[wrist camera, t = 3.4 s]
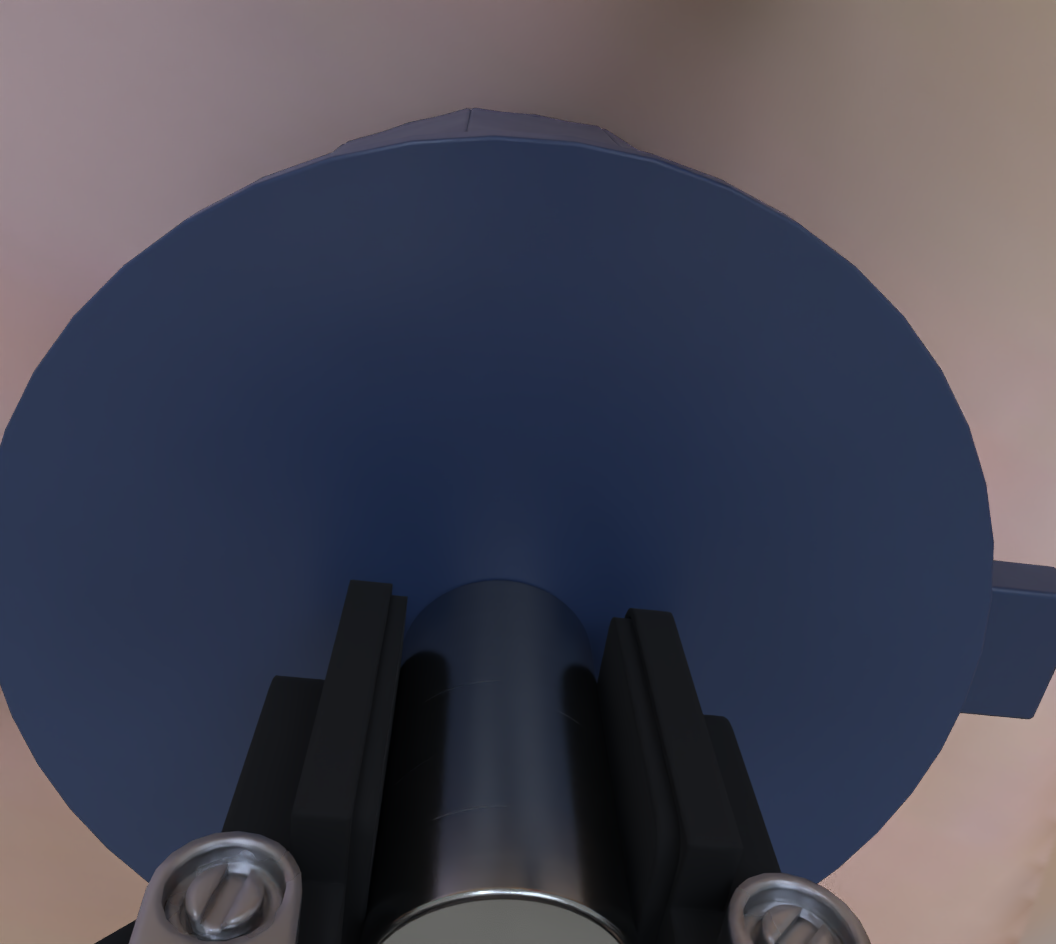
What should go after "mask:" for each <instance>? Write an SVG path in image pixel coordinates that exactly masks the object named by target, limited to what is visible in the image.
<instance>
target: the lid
mask: <svg viewBox="0 0 1056 944" xmlns="http://www.w3.org/2000/svg"><path fill="white" fill-rule="evenodd" d="M993 550H994V540H993V533H992V525H991V517H990V510H989V502H988V494H987V487H986V482H985V478H984V475H983V472H982V468H981V465H980V462H979V458H978V455H977V452H976V448H975V445H974V441H973V438H972V435H971V431H970V428H969V425H968V423H967V421H966V419H965V417H964V415H963V413H962V411H961V409H960V407H959V405H958V403H957V401H956V399H955V397H954V394H953V392H952V390H951V388H950V386H949V384H948V382H947V380H946V378H945V376H944V374H943V372H942V370H941V368H940V367H939V366H938V364H937V363H936V361H935V360H934V358H933V357H932V356H931V354H930V353H929V351H928V350H927V349H926V347H925V346H924V344H923V343H922V341H921V340H920V339H919V337H918V336H917V334H916V333H915V331H914V330H913V329H912V327H911V326H910V324H909V323H908V322H907V320H906V319H905V317H904V316H903V315H902V314H901V313H900V312H899V311H898V310H897V309H896V308H895V307H894V306H893V305H892V304H891V303H890V301H889V300H888V299H887V298H886V297H885V296H884V295H883V294H882V293H881V292H880V291H879V290H878V289H877V288H876V287H875V286H874V285H873V284H872V283H871V282H870V281H869V280H868V279H867V278H866V277H865V276H864V275H863V274H862V273H861V272H860V271H859V270H858V268H857V267H856V266H854V265H853V264H852V263H850V262H849V261H848V260H846V259H845V258H844V257H842V256H841V255H840V254H838V253H837V252H836V251H834V250H833V249H832V248H830V247H829V246H828V245H827V244H825V243H824V242H823V241H821V240H820V239H819V238H817V237H816V236H815V235H813V234H812V233H811V232H809V231H808V230H807V229H805V228H804V227H803V226H801V225H800V224H799V223H797V222H796V221H794V220H793V219H791V218H790V217H788V216H787V215H785V214H784V213H782V212H780V211H778V210H776V209H774V208H773V207H771V206H769V205H767V204H765V203H763V202H762V201H760V200H758V199H756V198H754V197H752V196H751V195H749V194H747V193H745V192H743V191H742V190H740V189H738V188H736V187H734V186H732V185H731V184H729V183H727V182H725V181H723V180H721V179H719V178H716V177H713V176H711V175H708V174H705V173H703V172H700V171H697V170H695V169H692V168H689V167H687V166H684V165H681V164H678V163H676V162H673V161H670V160H668V159H665V158H662V157H660V156H657V155H654V154H652V153H648V152H644V151H639V150H635V149H630V148H625V147H621V146H616V145H612V144H607V143H603V142H598V141H593V140H589V139H584V138H580V137H575V136H565V135H552V134H539V133H526V132H513V131H500V130H487V131H471V132H455V133H439V134H423V135H412V136H407V137H402V138H397V139H392V140H388V141H383V142H378V143H373V144H368V145H363V146H358V147H353V148H348V149H343V150H339V151H335V152H332V153H329V154H327V155H324V156H321V157H318V158H315V159H313V160H310V161H307V162H304V163H301V164H299V165H296V166H293V167H290V168H287V169H284V170H282V171H279V172H276V173H273V174H270V175H268V176H265V177H263V178H261V179H259V180H257V181H255V182H253V183H251V184H249V185H247V186H246V187H244V188H242V189H240V190H238V191H236V192H234V193H232V194H230V195H229V196H227V197H225V198H223V199H221V200H219V201H217V202H215V203H213V204H212V205H210V206H208V207H206V208H204V209H202V210H200V211H198V212H197V213H195V214H194V215H192V216H190V217H189V218H187V219H186V220H184V221H183V222H182V223H180V224H179V225H178V226H176V227H175V228H174V229H172V230H171V231H170V232H168V233H167V234H165V235H164V236H163V237H161V238H160V239H159V240H157V241H156V242H155V243H153V244H152V245H151V246H149V247H148V248H146V249H145V250H144V251H142V252H141V253H140V254H138V255H137V256H136V257H134V258H133V259H132V260H130V261H129V262H128V263H126V264H125V265H124V266H123V267H122V268H121V269H120V270H119V271H118V272H117V273H116V274H115V275H114V276H113V277H112V278H111V279H110V280H109V281H108V282H107V283H106V284H105V285H104V286H103V287H102V288H101V289H100V290H99V291H98V292H97V293H96V294H95V295H94V296H93V297H92V298H91V299H90V300H89V301H88V302H87V303H86V304H85V305H84V306H83V307H82V308H81V309H80V310H79V311H78V312H77V313H76V314H75V315H74V316H73V318H72V319H71V320H70V322H69V323H68V325H67V326H66V327H65V329H64V330H63V331H62V333H61V334H60V336H59V337H58V338H57V340H56V341H55V343H54V344H53V345H52V347H51V348H50V350H49V351H48V352H47V354H46V355H45V357H44V358H43V359H42V361H41V362H40V364H39V365H38V366H37V368H36V369H35V371H34V372H33V374H32V376H31V378H30V380H29V382H28V384H27V386H26V388H25V390H24V392H23V394H22V397H21V399H20V401H19V403H18V405H17V407H16V409H15V411H14V413H13V415H12V417H11V419H10V421H9V423H8V425H7V427H6V429H5V432H4V435H3V438H2V442H1V445H0V685H1V688H2V691H3V693H4V696H5V699H6V702H7V704H8V707H9V710H10V713H11V715H12V718H13V719H14V721H15V723H16V725H17V727H18V729H19V731H20V732H21V734H22V736H23V738H24V740H25V742H26V744H27V745H28V747H29V749H30V751H31V753H32V755H33V757H34V758H35V760H36V762H37V764H38V765H39V767H40V768H41V770H42V771H43V772H44V774H45V775H46V776H47V778H48V779H49V781H50V782H51V783H52V785H53V786H54V787H55V789H56V790H57V792H58V793H59V794H60V796H61V797H62V798H63V800H64V801H65V803H66V804H67V805H68V807H69V808H70V809H71V810H72V811H73V812H74V814H75V815H76V816H77V817H78V818H79V819H80V820H81V821H82V822H83V823H84V824H85V825H86V826H87V827H88V828H89V829H90V831H91V832H92V833H93V834H94V835H95V836H96V837H97V838H98V839H99V840H100V841H101V842H102V843H103V844H104V845H105V846H106V848H108V849H109V850H110V851H111V852H112V853H114V854H115V855H116V856H117V857H118V858H120V859H121V860H122V861H123V862H124V863H125V864H127V865H128V866H129V867H130V868H131V869H133V870H134V871H135V872H136V873H137V874H139V875H140V876H141V877H142V878H143V879H145V880H146V881H147V882H148V883H149V882H150V880H151V878H152V876H153V874H154V872H155V870H156V869H157V868H158V867H159V866H160V865H161V863H162V862H163V861H164V860H165V859H166V858H167V857H168V856H169V855H170V854H171V853H172V852H174V851H176V850H177V849H179V848H181V847H182V846H184V845H186V844H187V843H189V842H191V841H193V840H196V839H199V838H202V837H205V836H208V835H211V834H214V833H221V831H222V828H223V825H224V822H225V819H226V816H227V813H228V810H229V807H230V804H231V801H232V798H233V795H234V792H235V789H236V786H237V783H238V780H239V777H240V774H241V771H242V768H243V765H244V762H245V759H246V756H247V753H248V750H249V747H250V744H251V741H252V738H253V735H254V732H255V729H256V726H257V723H258V720H259V717H260V714H261V711H262V708H263V705H264V702H265V699H266V696H267V693H268V690H269V687H270V684H271V682H272V679H273V678H274V677H275V676H276V675H279V676H289V677H300V678H311V679H322V680H325V678H326V674H327V670H328V666H329V662H330V658H331V654H332V650H333V646H334V642H335V638H336V634H337V630H338V626H339V622H340V618H341V614H342V610H343V606H344V602H345V598H346V594H347V590H348V586H349V583H350V580H361V581H371V582H381V583H391V584H393V589H392V595H398V596H408V600H407V610H406V620H405V630H404V639H403V649H402V658H401V668H400V675H399V683H398V690H397V697H396V704H395V711H394V718H393V725H392V733H391V740H390V747H389V754H388V761H387V768H386V775H385V783H384V790H383V797H382V804H381V811H380V818H379V825H378V833H377V840H376V847H375V854H374V861H373V868H372V875H371V883H370V890H369V897H368V904H367V911H366V918H365V921H364V924H363V929H362V934H361V940H360V944H638V941H637V935H636V929H635V922H634V916H633V910H632V903H631V897H630V891H629V885H628V878H627V872H626V866H625V859H624V853H623V847H622V840H621V834H620V828H619V821H618V815H617V809H616V802H615V796H614V790H613V783H612V777H611V771H610V764H609V758H608V752H607V746H606V739H605V733H604V727H603V720H602V714H601V708H600V701H599V695H598V689H597V681H598V676H599V672H600V667H601V662H602V658H603V653H604V648H605V644H606V639H607V634H608V630H609V625H610V622H611V619H612V618H613V617H618V618H625V615H626V613H627V610H628V609H629V608H637V609H647V610H657V611H667V612H671V613H672V615H673V617H674V620H675V623H676V627H677V630H678V633H679V636H680V640H681V643H682V646H683V650H684V653H685V656H686V660H687V663H688V666H689V670H690V673H691V676H692V679H693V683H694V686H695V689H696V693H697V696H698V699H699V703H700V706H701V709H702V712H703V714H704V715H715V716H724V717H725V718H727V719H728V720H729V722H730V724H731V726H732V728H733V731H734V734H735V737H736V740H737V743H738V746H739V749H740V752H741V755H742V758H743V760H744V763H745V766H746V769H747V772H748V775H749V778H750V781H751V784H752V787H753V790H754V793H755V796H756V799H757V802H758V805H759V808H760V811H761V814H762V817H763V820H764V823H765V826H766V828H767V831H768V834H769V837H770V840H771V843H772V846H773V849H774V852H775V855H776V858H777V861H778V864H779V867H780V870H781V873H786V874H790V875H794V876H798V877H802V878H806V879H808V880H810V881H812V882H814V883H816V884H817V883H819V882H820V881H822V880H823V879H824V878H826V877H827V876H828V875H830V874H831V873H833V872H834V871H835V870H837V869H838V868H839V867H840V866H841V865H843V864H844V863H845V862H846V861H847V860H848V859H849V858H850V857H851V856H852V855H854V854H855V853H856V852H857V851H858V850H859V849H860V848H861V847H862V846H863V845H865V844H866V843H867V842H868V841H869V840H870V839H871V838H872V837H873V836H874V835H875V834H877V833H878V832H879V830H880V829H881V828H882V827H883V826H884V825H885V823H886V822H887V821H888V820H889V819H890V818H891V817H892V815H893V814H894V813H895V812H896V811H897V810H898V809H899V807H900V806H901V805H902V804H903V803H904V802H905V801H906V799H907V798H908V797H909V796H910V795H911V794H912V792H913V791H914V789H915V788H916V786H917V785H918V783H919V782H920V781H921V779H922V778H923V776H924V775H925V773H926V772H927V770H928V769H929V767H930V766H931V764H932V763H933V761H934V760H935V758H936V757H937V755H938V754H939V752H940V751H941V749H942V747H943V745H944V743H945V741H946V739H947V738H948V736H949V734H950V732H951V730H952V728H953V726H954V724H955V722H956V720H957V718H958V716H959V714H960V712H961V710H962V708H963V706H964V704H965V701H966V698H967V695H968V692H969V689H970V687H971V684H972V681H973V678H974V675H975V672H976V669H977V666H978V663H979V660H980V657H981V654H982V651H983V645H984V640H985V634H986V629H987V623H988V618H989V613H990V607H991V602H992V585H993Z"/></svg>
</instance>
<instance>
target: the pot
mask: <svg viewBox="0 0 1056 944" xmlns="http://www.w3.org/2000/svg"><path fill="white" fill-rule="evenodd" d="M487 130H500V131H513V132H526V133H539V134H552V135H565V136H575V137H580V138H584V139H589V140H593V141H598V142H603V143H607V144H612V145H616V146H621V147H625V148H630V149H635V150H638V149H636V148H634V147H633V146H631V145H630V144H628V143H627V142H625V141H623V140H622V139H620V138H619V137H617V136H616V135H614V134H612V133H611V132H609V131H608V130H606V129H601V128H600V127H598V126H595V125H588V124H581V123H574V122H568V121H563V120H559V119H554V118H549V117H545V116H540V115H536V114H524V113H511V112H500V111H493V110H487V109H480V108H473V109H472V110H471V109H469V108H466V109H463V110H459V111H455V112H452V113H448V114H445V115H441V116H437V117H433V118H428V119H423V120H418V121H413V122H409V123H406V124H403V125H400V126H398V127H395V128H392V129H389V130H386V131H384V132H380V133H377V134H373V135H369V136H366V137H362V138H359V139H355V140H351V141H348V142H347V143H346V144H342V145H341V146H340V147H338V148H337V149H336V150H335V151H339V150H343V149H348V148H353V147H358V146H363V145H368V144H373V143H378V142H383V141H388V140H392V139H397V138H402V137H407V136H412V135H423V134H439V133H455V132H471V131H487ZM335 151H334V152H335ZM1055 669H1056V568H1054V567H1050V566H1041V565H1031V564H1022V563H1013V562H1004V561H995V560H993V585H992V602H991V607H990V613H989V618H988V623H987V629H986V634H985V640H984V645H983V651H982V654H981V657H980V660H979V663H978V666H977V669H976V672H975V675H974V678H973V681H972V684H971V687H970V689H969V692H968V695H967V698H966V701H965V704H964V706H963V708H962V710H961V712H960V713H967V714H978V715H988V716H999V717H1010V718H1020V719H1031V718H1032V717H1033V716H1034V714H1035V712H1036V710H1037V708H1038V706H1039V703H1040V701H1041V699H1042V697H1043V695H1044V693H1045V691H1046V688H1047V686H1048V684H1049V682H1050V680H1051V678H1052V675H1053V673H1054V671H1055Z"/></svg>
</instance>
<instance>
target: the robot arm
mask: <svg viewBox="0 0 1056 944" xmlns="http://www.w3.org/2000/svg"><path fill="white" fill-rule="evenodd" d="M392 589H393V584H391V583H381V582H371V581H361V580H350V583H349V586H348V590H347V594H346V598H345V602H344V606H343V610H342V614H341V618H340V622H339V626H338V630H337V634H336V638H335V642H334V646H333V650H332V654H331V658H330V662H329V666H328V670H327V674H326V678H325V680H322V679H311V678H300V677H289V676H279V675H276V676H275V677H274V678H273V679H272V682H271V684H270V687H269V690H268V693H267V696H266V699H265V702H264V705H263V708H262V711H261V714H260V717H259V720H258V723H257V726H256V729H255V732H254V735H253V738H252V741H251V744H250V747H249V750H248V753H247V756H246V759H245V762H244V765H243V768H242V771H241V774H240V777H239V780H238V783H237V786H236V789H235V792H234V795H233V798H232V801H231V804H230V807H229V810H228V813H227V816H226V819H225V822H224V825H223V828H222V831H221V833H214V834H211V835H208V836H205V837H202V838H199V839H196V840H193V841H191V842H189V843H187V844H186V845H184V846H182V847H181V848H179V849H177V850H176V851H174V852H172V853H171V854H170V855H169V856H168V857H167V858H166V859H165V860H164V861H163V862H162V863H161V865H160V866H159V867H158V868H157V869H156V870H155V872H154V874H153V876H152V878H151V880H150V882H149V884H148V886H147V888H146V890H145V894H144V897H143V900H142V903H141V906H140V910H139V913H138V916H137V919H136V920H135V921H133V922H131V923H130V924H128V925H126V926H124V927H123V928H121V929H119V930H117V931H116V932H114V933H112V934H110V935H109V936H107V937H105V938H103V939H102V940H100V941H98V942H97V943H95V944H360V940H361V934H362V929H363V924H364V921H365V918H366V911H367V904H368V897H369V890H370V883H371V875H372V868H373V861H374V854H375V847H376V840H377V833H378V825H379V818H380V811H381V804H382V797H383V790H384V783H385V775H386V768H387V761H388V754H389V747H390V740H391V733H392V725H393V718H394V711H395V704H396V697H397V690H398V683H399V675H400V668H401V658H402V649H403V639H404V630H405V620H406V610H407V600H408V596H398V595H392ZM597 689H598V695H599V701H600V708H601V714H602V720H603V727H604V733H605V739H606V746H607V752H608V758H609V764H610V771H611V777H612V783H613V790H614V796H615V802H616V809H617V815H618V821H619V828H620V834H621V840H622V847H623V853H624V859H625V866H626V872H627V878H628V885H629V891H630V897H631V903H632V910H633V916H634V922H635V929H636V935H637V941H638V944H871V943H870V940H869V938H868V936H867V934H866V932H865V930H864V928H863V926H862V924H861V922H860V920H859V919H858V918H857V917H856V915H855V914H854V913H853V912H852V911H851V910H850V908H849V907H848V906H847V905H846V904H845V903H844V902H843V901H842V900H840V899H839V898H838V897H836V896H835V895H834V894H833V893H831V892H830V891H829V890H827V889H826V888H824V887H822V886H820V885H818V884H816V883H814V882H812V881H810V880H808V879H806V878H802V877H798V876H794V875H790V874H786V873H781V870H780V867H779V864H778V861H777V858H776V855H775V852H774V849H773V846H772V843H771V840H770V837H769V834H768V831H767V828H766V826H765V823H764V820H763V817H762V814H761V811H760V808H759V805H758V802H757V799H756V796H755V793H754V790H753V787H752V784H751V781H750V778H749V775H748V772H747V769H746V766H745V763H744V760H743V758H742V755H741V752H740V749H739V746H738V743H737V740H736V737H735V734H734V731H733V728H732V726H731V724H730V722H729V720H728V719H727V718H725V717H724V716H715V715H704V714H703V712H702V709H701V706H700V703H699V699H698V696H697V693H696V689H695V686H694V683H693V679H692V676H691V673H690V670H689V666H688V663H687V660H686V656H685V653H684V650H683V646H682V643H681V640H680V636H679V633H678V630H677V627H676V623H675V620H674V617H673V615H672V613H671V612H667V611H657V610H647V609H637V608H629V609H628V610H627V613H626V615H625V618H618V617H613V618H612V619H611V622H610V625H609V630H608V634H607V639H606V644H605V648H604V653H603V658H602V662H601V667H600V672H599V676H598V681H597Z"/></svg>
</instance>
